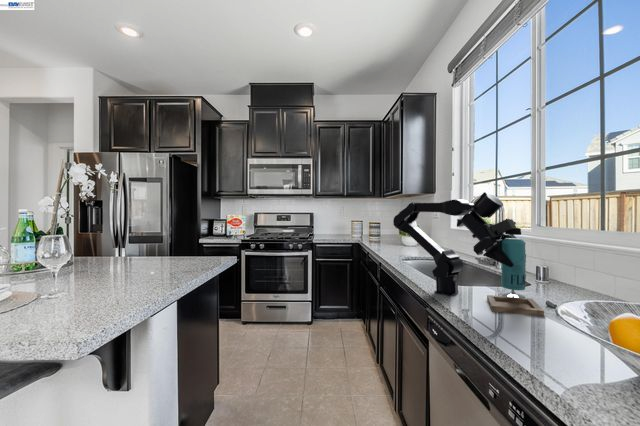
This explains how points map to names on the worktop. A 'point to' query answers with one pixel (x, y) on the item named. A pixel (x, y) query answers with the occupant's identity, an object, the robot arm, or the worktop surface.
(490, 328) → the worktop surface
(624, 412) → the worktop surface
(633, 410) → the worktop surface
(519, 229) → the beverage bottle
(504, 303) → the walnut tray
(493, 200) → the robot arm
